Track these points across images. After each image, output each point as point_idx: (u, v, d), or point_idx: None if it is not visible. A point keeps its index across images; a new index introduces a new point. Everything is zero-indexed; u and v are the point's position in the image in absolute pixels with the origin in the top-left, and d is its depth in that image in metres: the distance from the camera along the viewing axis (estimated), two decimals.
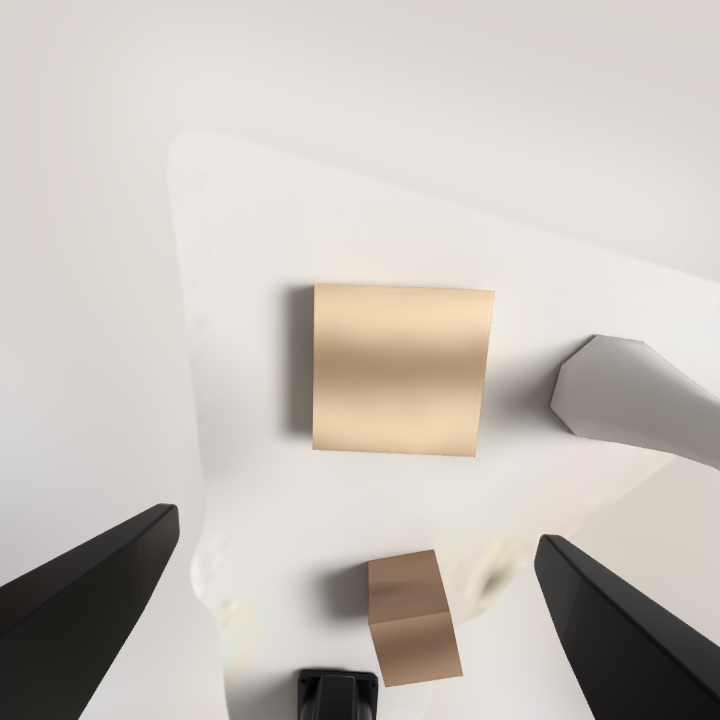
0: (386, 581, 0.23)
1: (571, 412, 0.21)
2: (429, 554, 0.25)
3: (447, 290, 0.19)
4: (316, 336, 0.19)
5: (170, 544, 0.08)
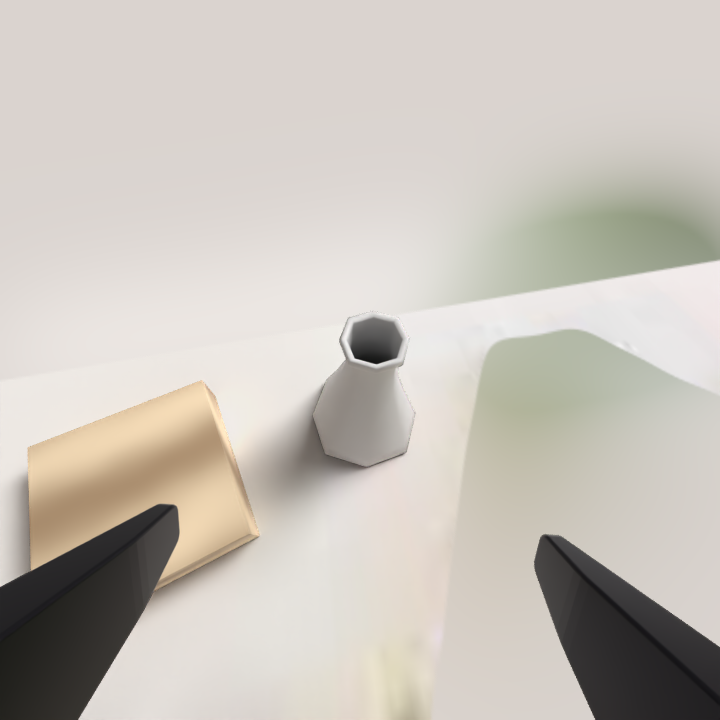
0: None
1: (330, 441, 0.21)
2: None
3: (161, 397, 0.21)
4: (31, 494, 0.18)
5: (170, 544, 0.08)
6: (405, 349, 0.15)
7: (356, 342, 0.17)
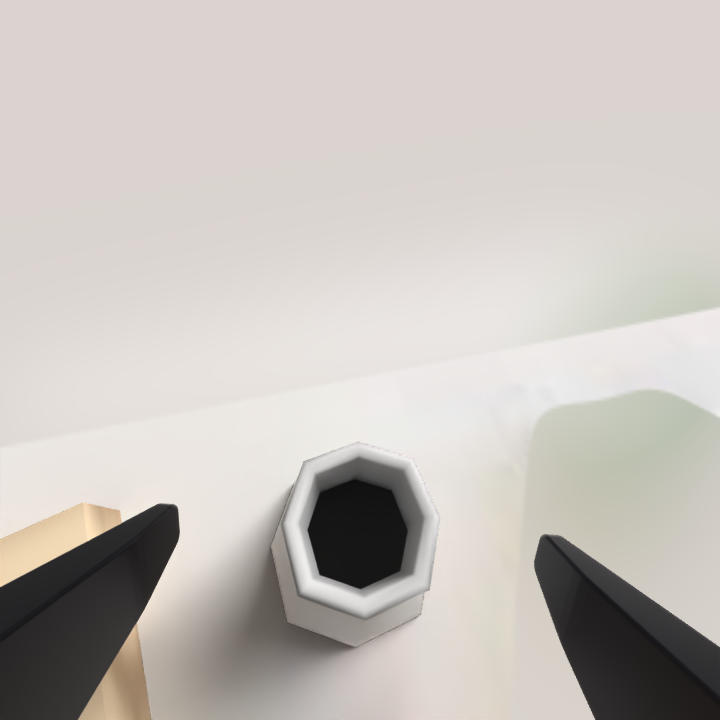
0: None
1: (292, 614, 0.12)
2: None
3: (6, 538, 0.13)
4: None
5: (170, 544, 0.08)
6: (432, 550, 0.06)
7: (328, 486, 0.09)
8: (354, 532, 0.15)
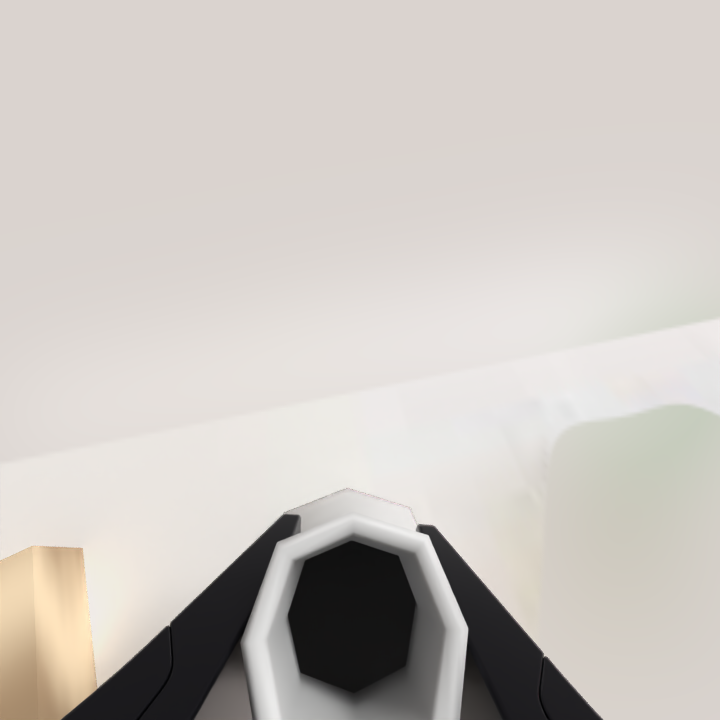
0: None
1: None
2: None
3: None
4: None
5: None
6: (459, 686, 0.04)
7: (315, 555, 0.07)
8: (351, 573, 0.13)
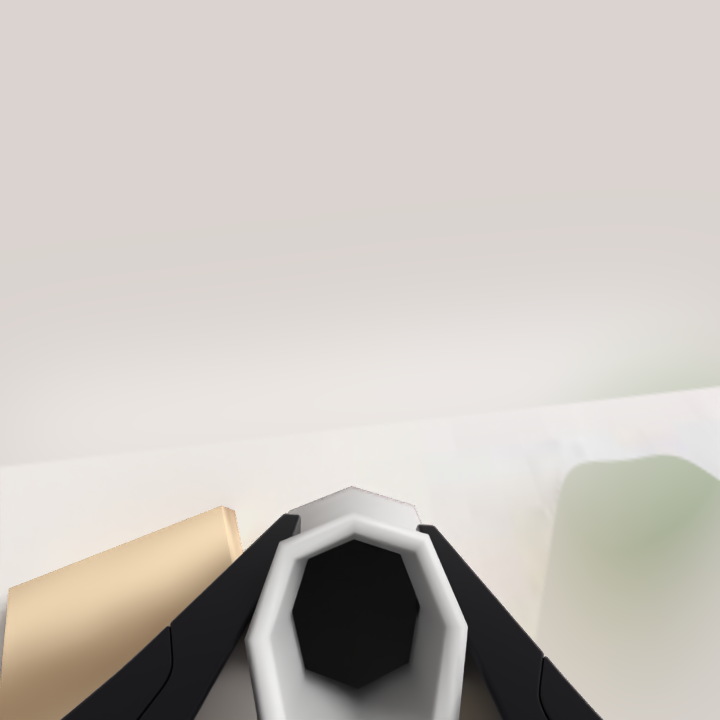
0: None
1: None
2: None
3: (171, 527, 0.18)
4: (5, 662, 0.15)
5: None
6: (458, 682, 0.05)
7: None
8: (356, 571, 0.14)
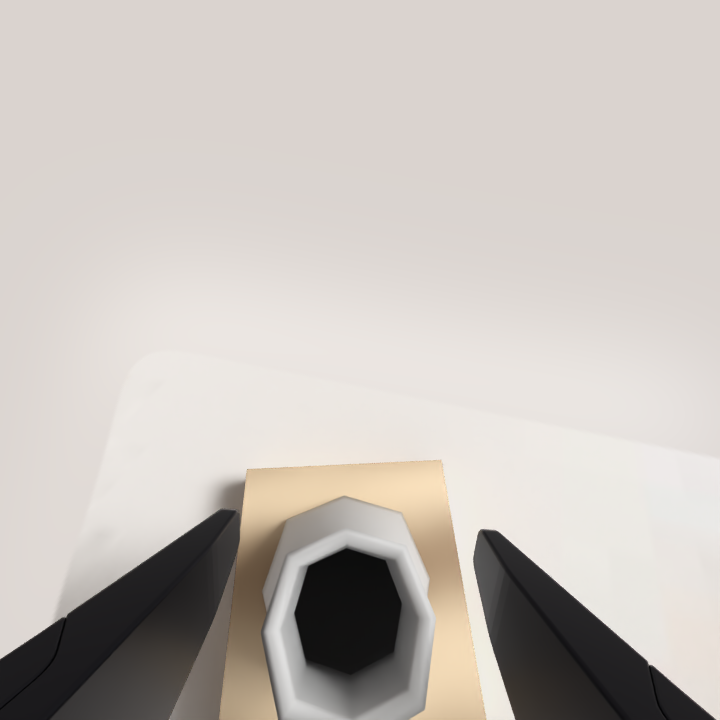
0: None
1: None
2: None
3: (392, 464, 0.17)
4: (242, 534, 0.15)
5: (233, 549, 0.08)
6: (427, 661, 0.06)
7: None
8: (349, 573, 0.15)
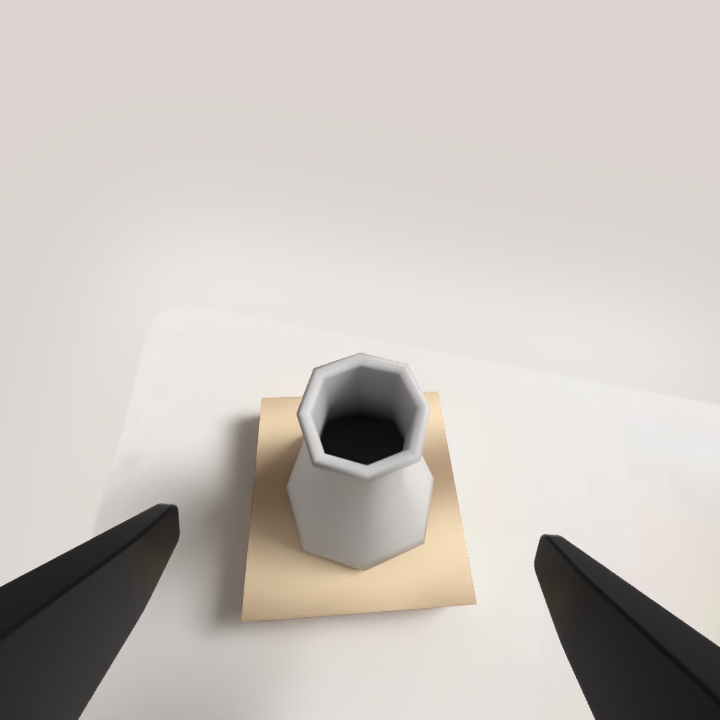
0: None
1: (307, 538, 0.14)
2: None
3: None
4: (259, 450, 0.17)
5: (170, 544, 0.08)
6: (423, 431, 0.08)
7: (336, 403, 0.10)
8: None
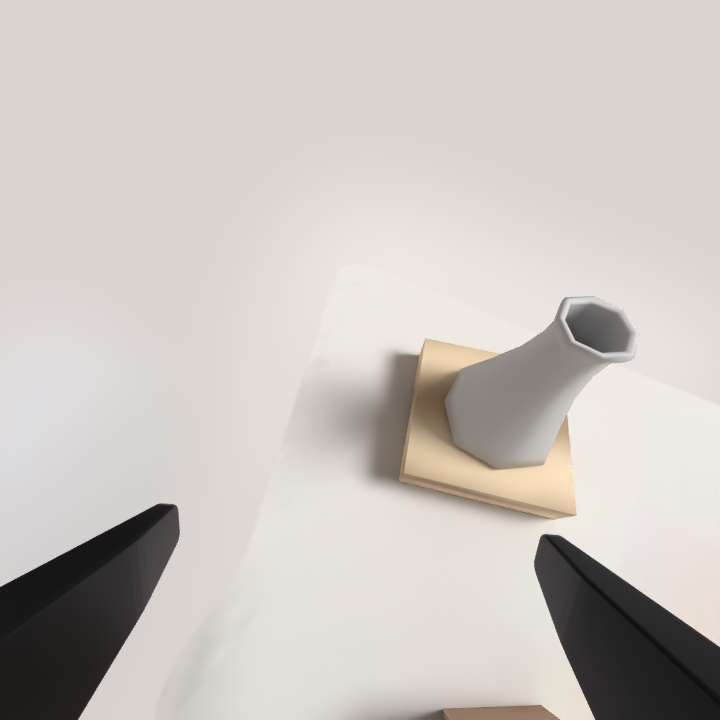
0: None
1: (468, 431, 0.19)
2: (537, 708, 0.16)
3: None
4: (422, 372, 0.23)
5: (170, 544, 0.08)
6: (635, 344, 0.13)
7: (551, 329, 0.16)
8: None
